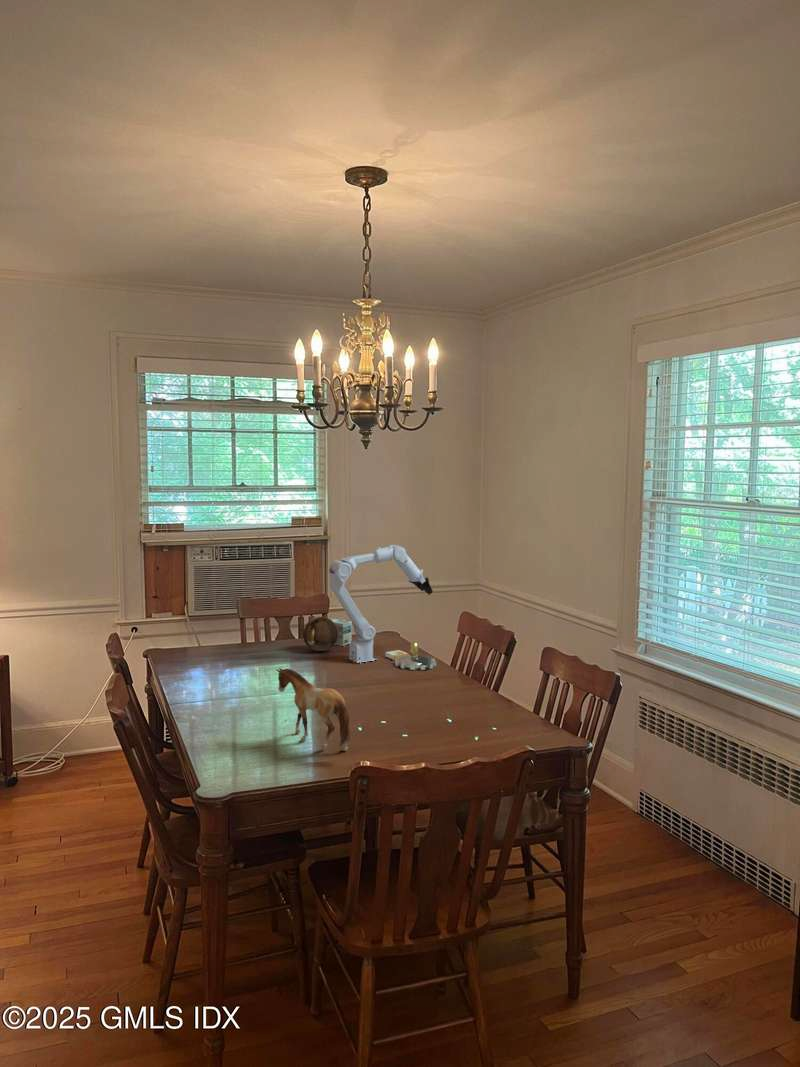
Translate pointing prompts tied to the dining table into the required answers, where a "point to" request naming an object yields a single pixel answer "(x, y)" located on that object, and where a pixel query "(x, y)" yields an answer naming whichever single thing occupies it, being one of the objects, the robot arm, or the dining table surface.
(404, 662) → the sprocket
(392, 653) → the square open frame
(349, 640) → the light bulb box
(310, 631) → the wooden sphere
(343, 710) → the horse figurine
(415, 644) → the brass pin
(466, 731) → the dining table surface
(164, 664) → the dining table surface
